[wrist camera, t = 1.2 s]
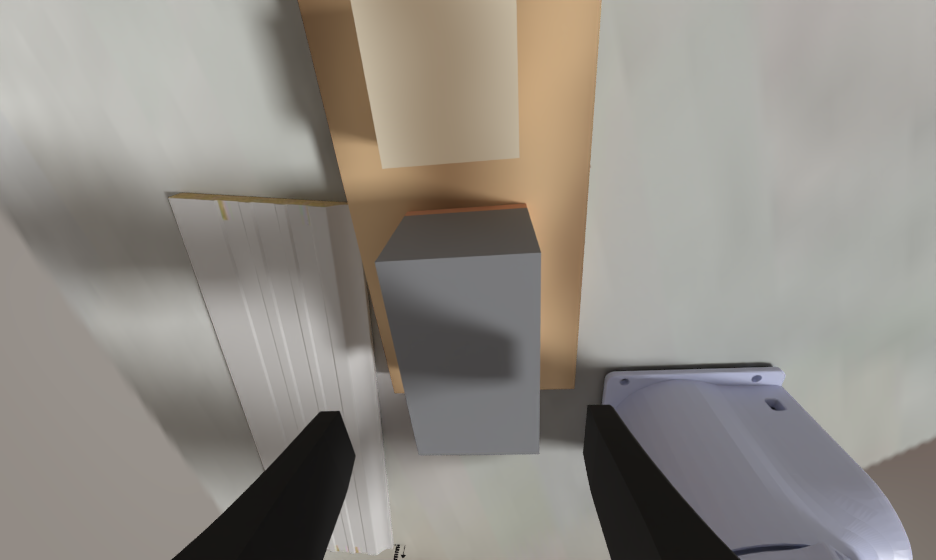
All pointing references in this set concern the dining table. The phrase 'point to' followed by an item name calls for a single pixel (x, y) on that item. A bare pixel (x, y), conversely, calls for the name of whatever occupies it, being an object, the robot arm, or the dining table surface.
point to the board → (481, 182)
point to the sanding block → (467, 327)
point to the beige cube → (440, 79)
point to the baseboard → (295, 333)
